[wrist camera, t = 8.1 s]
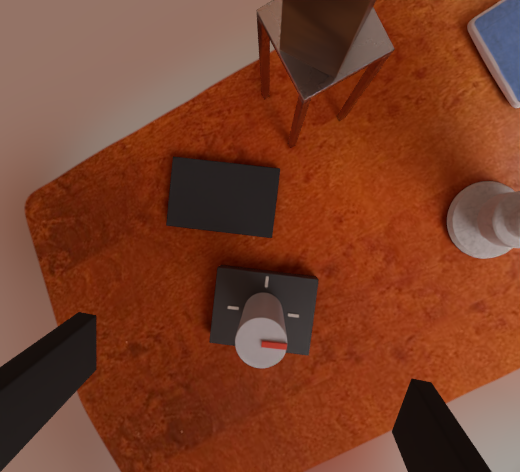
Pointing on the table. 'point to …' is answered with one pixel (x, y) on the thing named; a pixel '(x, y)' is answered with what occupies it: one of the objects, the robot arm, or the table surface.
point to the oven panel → (263, 281)
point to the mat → (222, 197)
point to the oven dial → (261, 332)
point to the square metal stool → (309, 78)
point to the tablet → (500, 45)
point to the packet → (322, 30)
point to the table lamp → (485, 219)
